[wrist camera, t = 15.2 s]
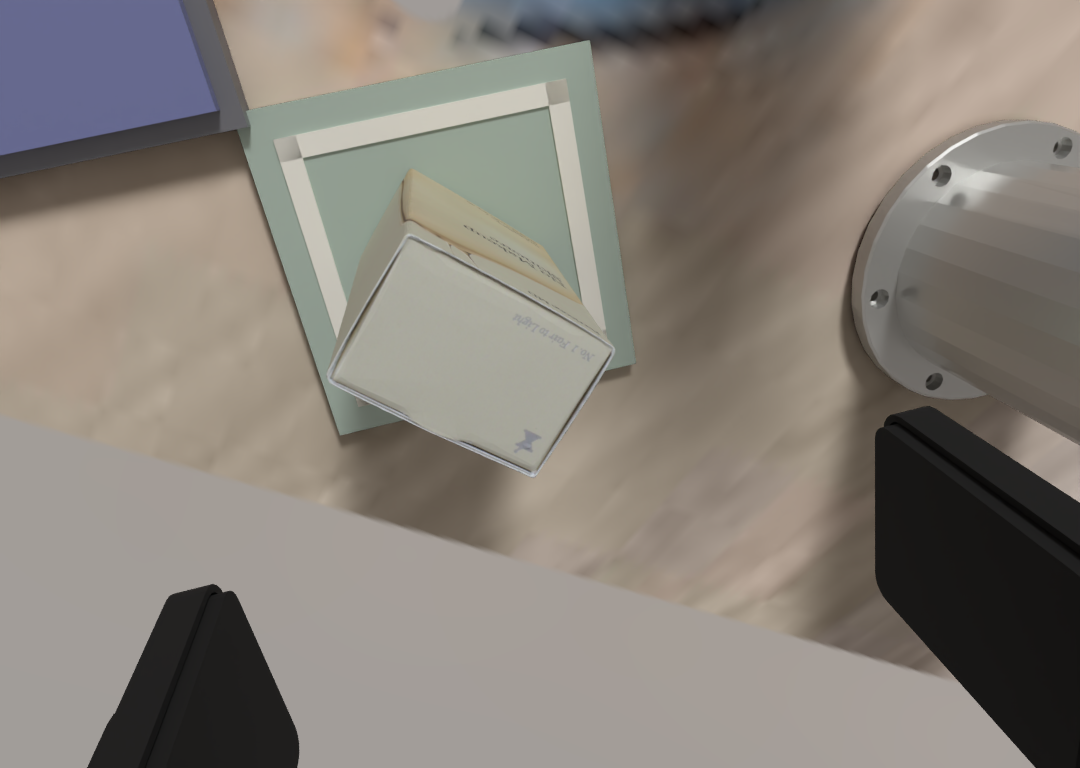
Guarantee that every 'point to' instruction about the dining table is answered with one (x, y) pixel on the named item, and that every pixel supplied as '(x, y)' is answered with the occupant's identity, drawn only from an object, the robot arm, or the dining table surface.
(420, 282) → the skincare box
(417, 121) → the marked board
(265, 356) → the dining table surface
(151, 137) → the ink pad
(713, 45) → the dining table surface
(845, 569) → the dining table surface
